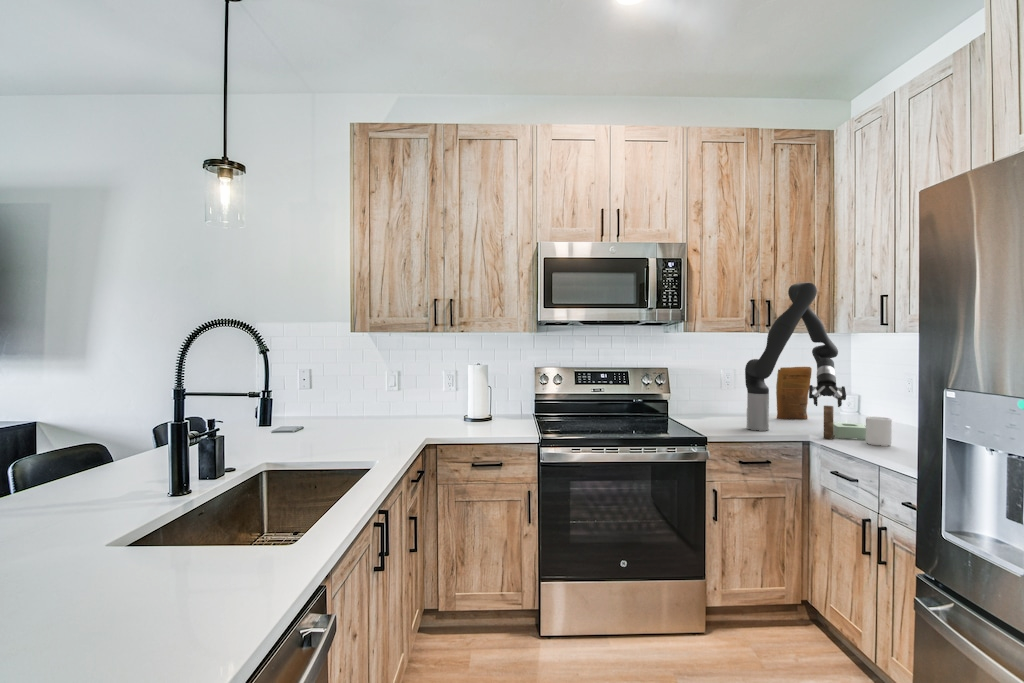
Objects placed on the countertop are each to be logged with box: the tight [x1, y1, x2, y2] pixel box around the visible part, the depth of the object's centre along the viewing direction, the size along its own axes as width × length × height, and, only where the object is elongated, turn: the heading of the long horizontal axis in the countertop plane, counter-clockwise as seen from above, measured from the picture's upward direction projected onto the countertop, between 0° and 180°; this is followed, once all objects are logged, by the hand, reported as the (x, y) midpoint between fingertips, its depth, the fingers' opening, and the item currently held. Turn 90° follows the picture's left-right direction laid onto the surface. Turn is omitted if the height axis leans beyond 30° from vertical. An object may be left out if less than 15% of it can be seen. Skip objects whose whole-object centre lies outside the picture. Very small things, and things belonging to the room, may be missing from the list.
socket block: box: [833, 421, 866, 440], centre depth 227 cm, size 12×12×5 cm
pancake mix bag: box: [775, 366, 812, 420], centre depth 275 cm, size 7×19×28 cm, turn 88°
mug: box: [865, 416, 893, 447], centre depth 212 cm, size 9×12×11 cm
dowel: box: [823, 405, 834, 440], centre depth 222 cm, size 4×4×14 cm
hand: (827, 405), depth 228 cm, fingers open, 8 cm apart
